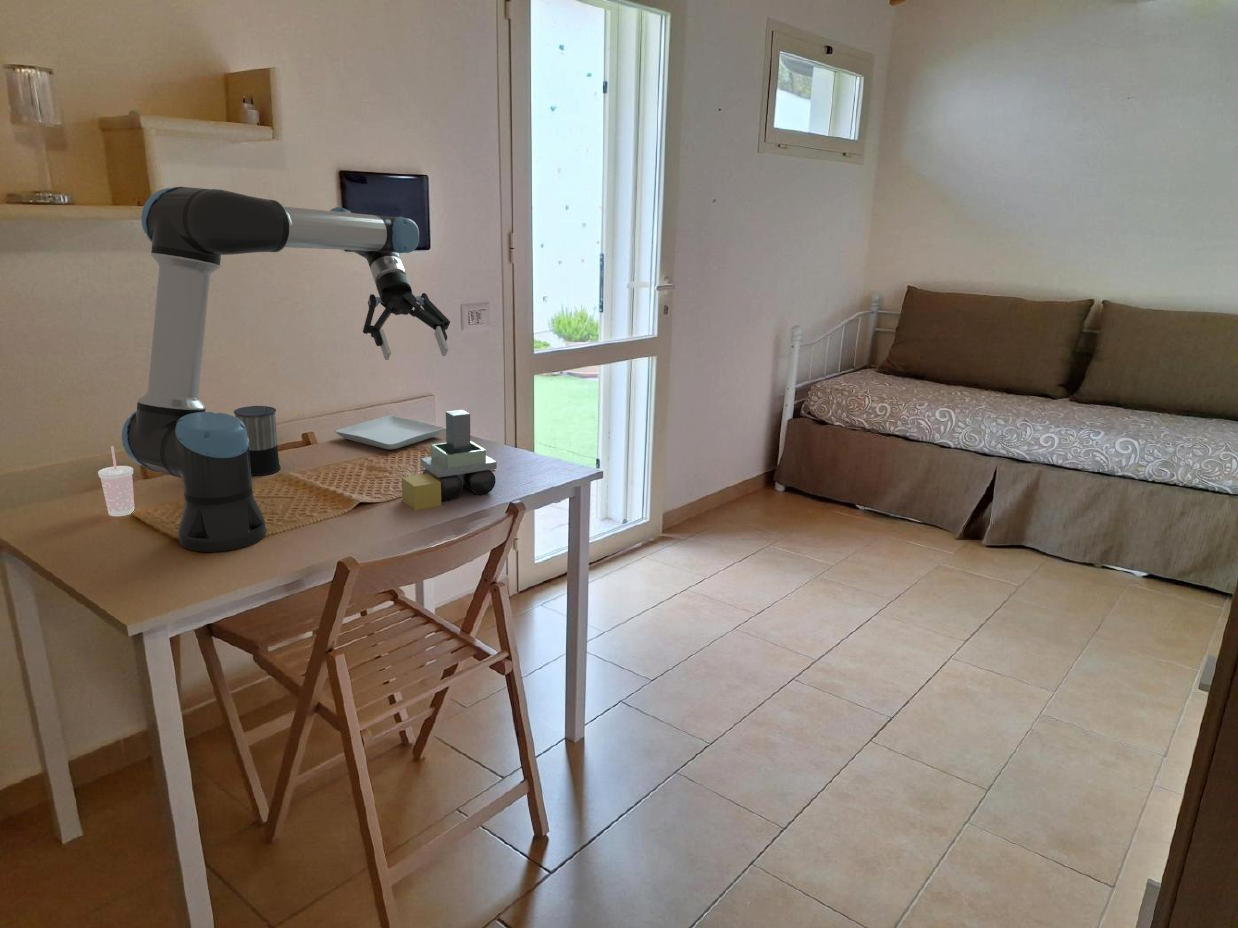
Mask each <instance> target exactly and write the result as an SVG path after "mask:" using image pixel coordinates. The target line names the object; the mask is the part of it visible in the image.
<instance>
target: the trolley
mask: <svg viewBox="0 0 1238 928" xmlns="http://www.w3.org/2000/svg"><path fill="white" fill-rule="evenodd" d="M470 446H471V451H469V452H462V453H454V454H448V453H447V449H446V442H440V443H431V444H430V456H427V457H420V466H421V467H423V468H424V470H423V471H422V474H426V473H428V474H429V475H431V476H432V477H434V478H435V479H437V480H438V481H440V482H441V500H444V501H445V502H446V501H447V502H448V501H449V502H451V501H454V500H456V499H457V498H459V496H460V495H461V494H462V492H463V491H464V490H463V488H464V487H466V488H467V489H469V490H471V492H473V493H475V494H476V495H479V496H484V495H488V494H490V492H491V491H493V490H494V488H495V486H496V482H497V481H496V476H495V475H496V474H494V473H493V472H492V470H496V469H498V468H497V464H498V463H497V461H496V460H494V459H493V458H492V457H489V456H487V450H486V449H485V448H484V447H482V446H480V445H478V444H477V443H475V442H474V441H472V440H470Z"/></svg>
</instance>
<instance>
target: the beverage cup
mask: <svg viewBox="0 0 1238 928" xmlns="http://www.w3.org/2000/svg"><path fill="white" fill-rule="evenodd" d="M110 450H111V457H112V463H113V465H112V466H110V467H109V466H108V467H104V468H102V469H100V470H98V471H97V474H98V478H100V482H101V486H102V490H103V495H104V500H105V503H106V509H107V512H108V515H109V516H111V517H123V516H129V515H132V514H133V513H134V512H135V511H134V509H135V499H134V495H135V494H134V481H133V474H134V468H133V466H132V467H131V466H129V465H117V461H116V455H115V446H114V445H111V446H110ZM133 511H134V512H133ZM132 512H133V513H132ZM131 513H132V514H131Z"/></svg>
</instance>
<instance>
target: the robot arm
mask: <svg viewBox="0 0 1238 928" xmlns="http://www.w3.org/2000/svg"><path fill="white" fill-rule="evenodd" d="M140 218H141V225H142V230H143V232H144V233H145V234H146V236H147V238H148V240H149V241H150V242H151V250H150V251H151V253H150V256H151V257H152V258H153V259H154V261H155V262H156V263H157V264H158V266H159V268H158V279H157V280H158V281H157V287H156V299H155V309H154V322H153V332H152V343H151V354H150V364H149V375H148V384H147V385H148V386H147V392H146V393H145V394H143V395H142V396H141V397H139V398H138V399H137V402H136V403H137V405H136V410H135V411H134V412H133V413H131V414H130V415H131V416H130V417H128V418H127V419H126V421H125V422H124V424H123V426H122V430H121V443H122V446H123V449H124V451H125V453H126V454H127V455H128V457H129V458H130V459H131V460H132V461H133V462H134V463H136V464H138V465H139V466H142V467H144V468H146V469H147V470H149V471H152V472H156V473H157V472H158V473H163V474H166V475H169V476H172V477H176V478H178V479H179V478H180V479H182V480H181V481H182V487H183V494H184V495H183V496H184V507H183V510H182V514H181V519H180V523H179V526H178V531H177V533H178V541H179V545H180V546H181V547H183V548H185V549H186V550H189V551H192V552H193V551H194V552H201V553H202V552H203V553H215V552H216V553H217V552H225V551H227V552H228V551H234V550H237V549H241V548H245V547H248V546H251V545H253V544H256V543H257V542H259V541H261V540H262V539H264V538H265V536H266V534H267V526H266V519H265V517H264V516H263V513H262V512H261V509H260V507H259V505H258V503H257V501H256V499H255V497H254V494H253V482H252V475H251V468H250V456H249V439H248V436H247V431H246V427H245V425H244V423H243V422H242V421H241V420H240V419H238V418H237V417H235V415H231V414H228V413H225V412H216V413H215V412H213V411H206V406H205V404H204V403H203V402H202V401H201V400H200V398H199V392H200V391H199V390H200V379H201V372H202V371H201V370H202V361H203V360H202V359H203V349H204V339H205V332H206V331H205V329H206V321H207V310H208V300H209V290H210V281H211V275H212V274H213V273H214V272H215V271H217V270H218V269H220V268H221V262H222V261H221V260H222V259H221V258H222V256H230V255H233V256H234V255H241V254H242V255H243V254H253V253H278V252H281V251H283V250H284V249H285V248H296V249H318V250H319V249H320V250H321V249H322V250H342V251H343V250H344V251H351V252H354V253H356V254H357V255H359V256H360V257H362V258H364V259H366V261H367V263H368V266H369V270H370V272H371V275H372V278H373V281H374V283H375V286H376V290H377V293H378V295H379V296H376V295H375V294H373V293H370V294H369V297H368V299H367V306H368V311H367V313H366V317H365V321H364V326H363V329H362V333H363V334H365V335H368V334H370V337H371V338H373V340H374V343H375V346H377V347H380V349H381V352H382V354H383V357H384V358H383V359H384V360H385V361H388V360H390V357H391V354H392V352H391V349H390V345H389V343H388V340H387V335H386V334H385V330H384V329H383V326H384V324H385V322H387V320H388V318H390V316H391V315H394V316H399V315H404V316H406V315H407V316H408V315H410V316H412V317H413V318H415V317H416V318H417V319H418V320H420V321H421V322H423V323H424V324H426V325H427V326H429V328H431V329H433V330H434V333H433V334H434V337H435V340H436V342H437V345H438V348H439V351H440V354H441V356H442V357H446V355H447V354H448V352H449V347H448V344H447V341H448V335H447V332H446V330H448V329H449V326H450V323H451V321H450V320H449V318H447V316H446V315H445V314H444V313H443V312H441V310H440V309H439V308H438V307H437V306H436V305H435V304H434V303H433V302H432V301H431V300H430V298H429V296H428V294H427V293H425V292H423V293H421V295H417V296H416V295H415V294H414V293H413V290H412V287H411V286H412V285H411V284H410V281H409V279H408V276H407V274H406V271H405V267H404V265H403V262H402V260H401V256H400V254H404V253H405V254H410V253H412V252H413V251H415V250H416V249H417V247H418V245H419V243H420V230H419V227H418V224H416V222H415V221H414V220H412V219H410V218H408V217H407V218H406V217H402V216H387V215H385V216H384V215H374V214H366V213H363V214H362V213H356V212H351V210H349V209H346V208H343V207H341V206H336V207H334V208H331V209H330V210H322V209H316V208H315V209H313V208H304V207H294V206H283V204H282V203H280V202H279V201H277V200H275V199H266V198H261V197H260V198H259V197H256V196H251V195H247V194H242V193H238V192H233V191H230V190H226V189H224V190H223V189H219V188H218V189H216V188H200V187H189V186H187V187H186V186H185V187H184V186H173V187H167V188H166V187H165V188H162V189H160V190H157V191H155V192H154V193H153V194H151V195H150V196H149V197H148V199H147V200H146V202H145V203H144V205H143V207H142V211H141V217H140ZM379 304H380V306H382V307H383V308H384V310H383V312H382V313H381V314H380V316H379V317H378V319H377V321H376V322H375V323H374V325H371V324H372V321H373V317H374V313H375V311H376V307H378V306H379ZM413 308H414V309H413Z"/></svg>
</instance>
